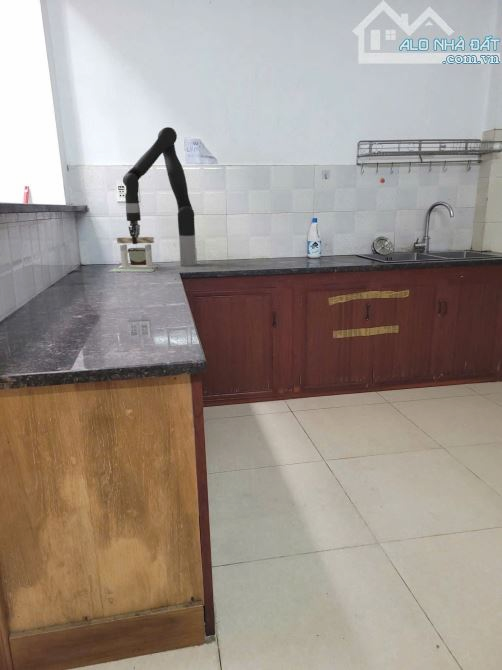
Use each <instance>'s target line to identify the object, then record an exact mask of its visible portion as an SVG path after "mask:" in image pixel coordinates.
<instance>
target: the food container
mask: <svg viewBox="0 0 502 670" xmlns="http://www.w3.org/2000/svg"><path fill="white" fill-rule="evenodd" d="M127 253H128V258H129V262H130V265H146V254H145V247H130V248H127Z"/></svg>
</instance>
